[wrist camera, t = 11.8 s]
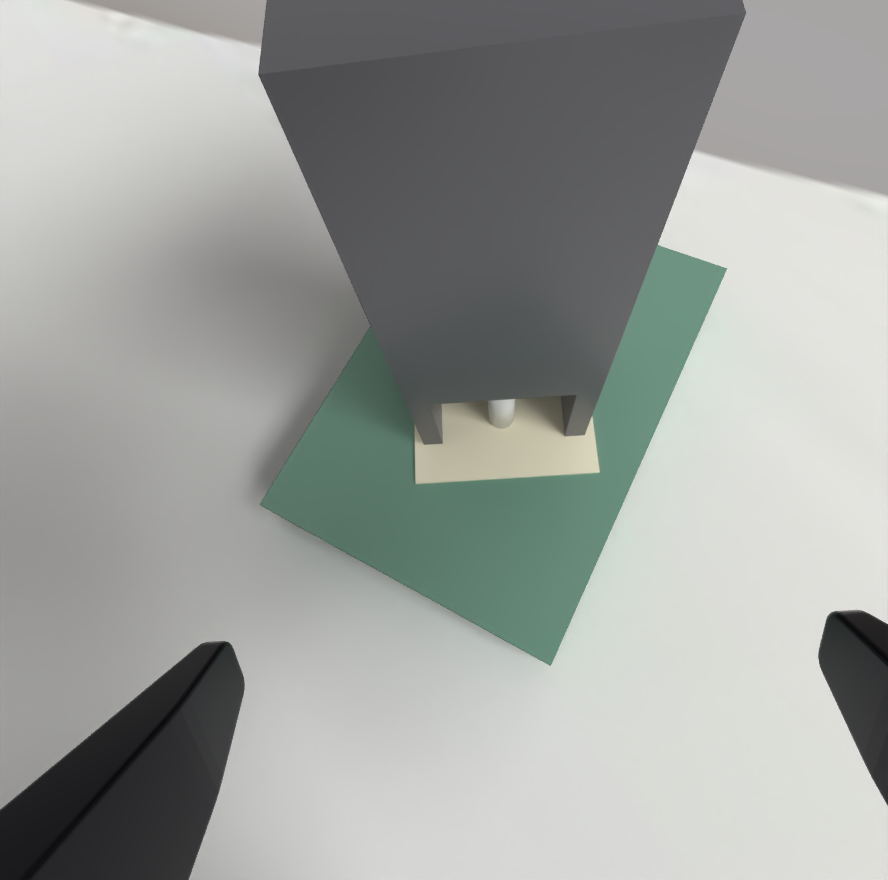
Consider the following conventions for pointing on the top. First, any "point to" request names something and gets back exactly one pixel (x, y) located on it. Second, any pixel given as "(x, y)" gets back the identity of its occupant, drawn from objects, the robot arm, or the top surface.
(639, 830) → the top surface
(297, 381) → the top surface
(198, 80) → the top surface
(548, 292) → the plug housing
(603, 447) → the board
